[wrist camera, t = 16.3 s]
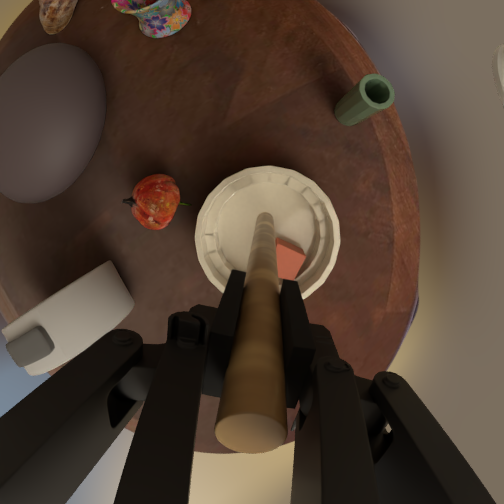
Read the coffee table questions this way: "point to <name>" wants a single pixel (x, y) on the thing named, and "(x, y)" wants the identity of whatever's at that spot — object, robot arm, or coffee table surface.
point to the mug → (156, 15)
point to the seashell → (56, 14)
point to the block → (288, 259)
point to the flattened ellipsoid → (49, 121)
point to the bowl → (285, 224)
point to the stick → (256, 356)
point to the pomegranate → (155, 201)
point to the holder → (364, 100)
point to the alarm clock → (68, 320)
